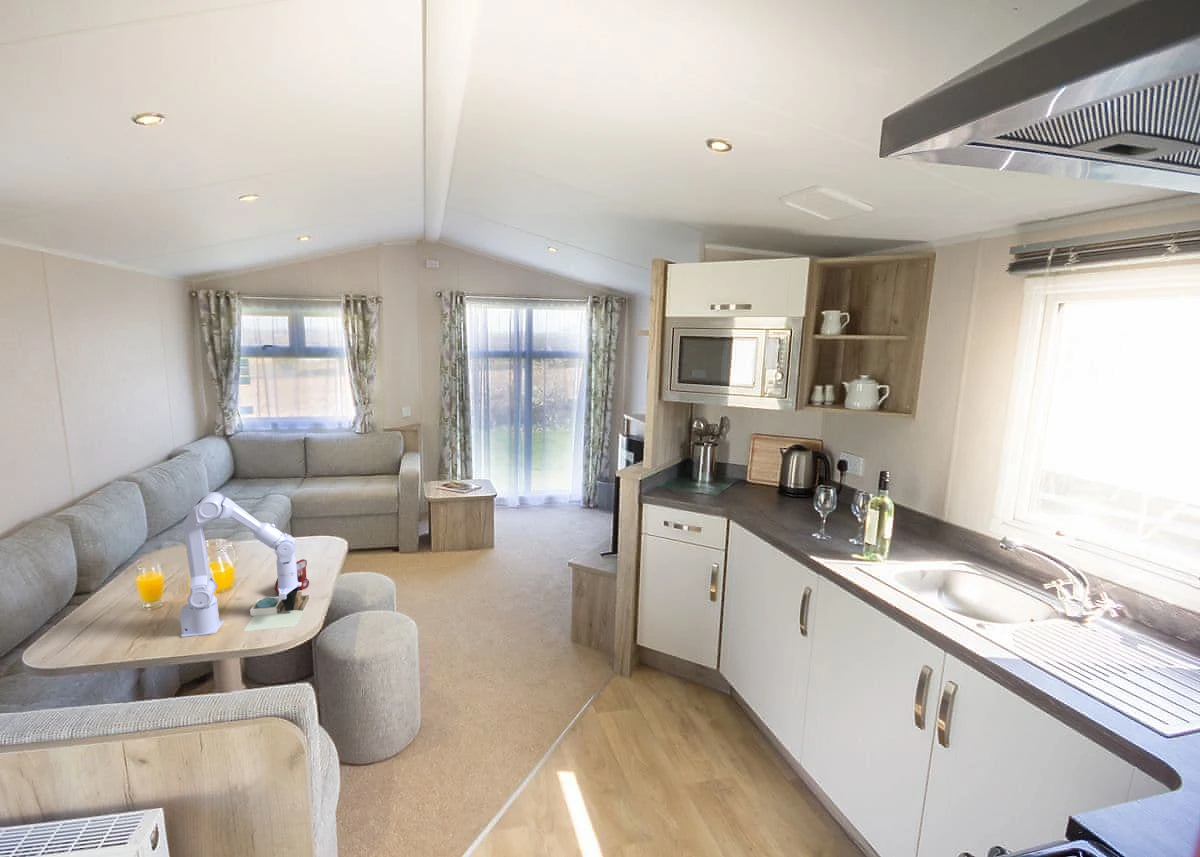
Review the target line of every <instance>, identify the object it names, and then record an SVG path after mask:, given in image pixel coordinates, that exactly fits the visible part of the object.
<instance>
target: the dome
mask: <svg viewBox="0 0 1200 857" xmlns="http://www.w3.org/2000/svg"><path fill="white" fill-rule="evenodd" d="M275 598H276V597H268V596H266V597H264V598H261V599H262V600H260V601H258V603H257V607H258V608H268V607H275V606H276V604H277V602H276V599H275Z"/></svg>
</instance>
